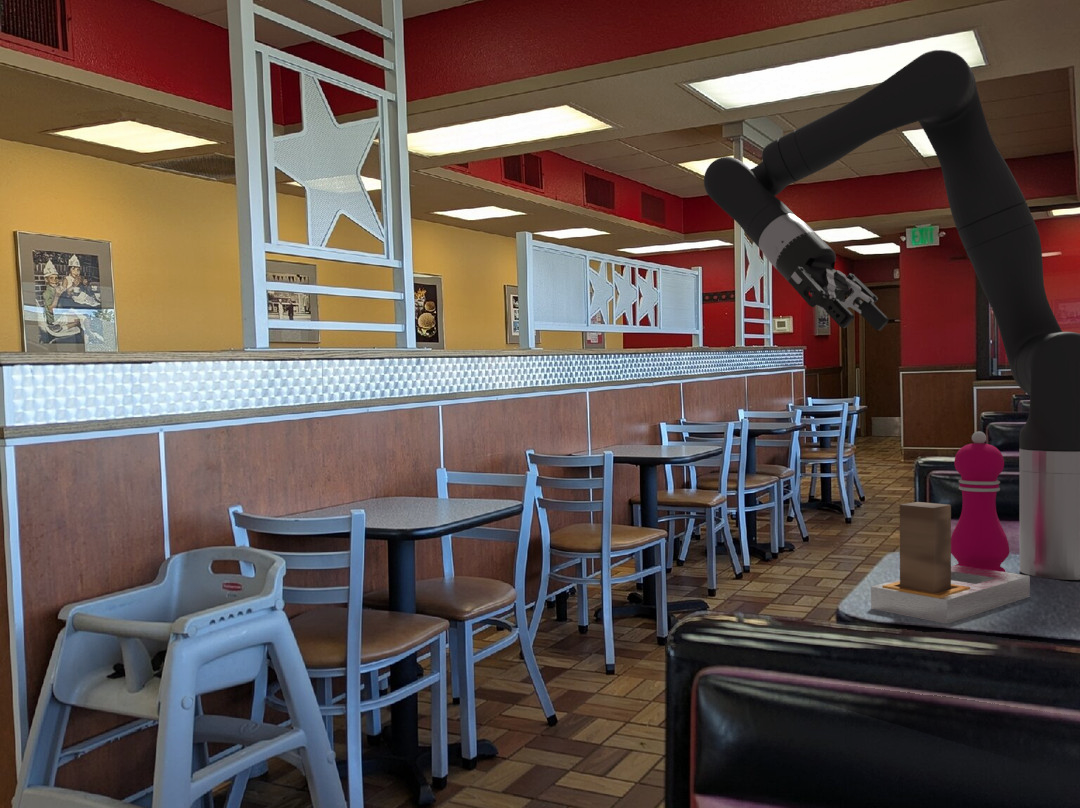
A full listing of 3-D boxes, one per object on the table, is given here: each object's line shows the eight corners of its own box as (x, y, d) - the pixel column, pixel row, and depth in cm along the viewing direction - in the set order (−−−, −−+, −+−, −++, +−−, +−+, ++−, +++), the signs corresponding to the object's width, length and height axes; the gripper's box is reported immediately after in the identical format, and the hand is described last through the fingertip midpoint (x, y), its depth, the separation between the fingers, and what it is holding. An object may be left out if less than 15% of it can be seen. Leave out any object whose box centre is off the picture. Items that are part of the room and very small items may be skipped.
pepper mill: (958, 573, 128) (958, 429, 128) (1015, 579, 124) (1015, 431, 124) (942, 581, 123) (942, 431, 123) (1001, 588, 118) (1001, 433, 118)
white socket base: (956, 588, 119) (956, 563, 118) (1029, 600, 112) (1029, 574, 112) (871, 612, 106) (870, 584, 106) (946, 627, 99) (947, 598, 99)
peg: (917, 604, 108) (917, 501, 108) (950, 610, 105) (950, 504, 105) (899, 609, 105) (899, 504, 105) (934, 615, 102) (933, 507, 102)
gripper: (781, 225, 129) (854, 300, 120) (839, 235, 138) (911, 306, 129) (751, 267, 133) (819, 343, 125) (809, 274, 142) (877, 346, 133)
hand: (866, 324), depth 127 cm, fingers open, 8 cm apart
